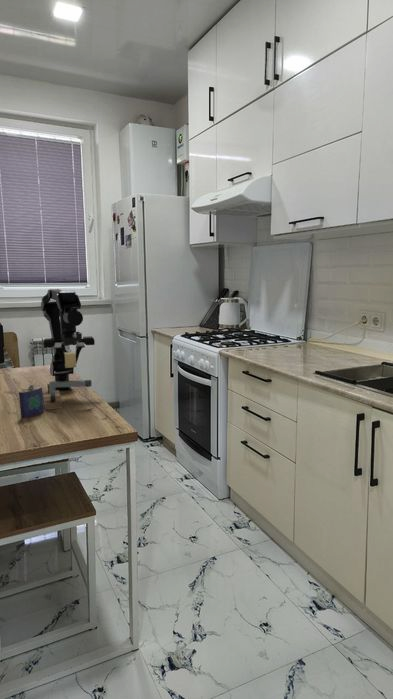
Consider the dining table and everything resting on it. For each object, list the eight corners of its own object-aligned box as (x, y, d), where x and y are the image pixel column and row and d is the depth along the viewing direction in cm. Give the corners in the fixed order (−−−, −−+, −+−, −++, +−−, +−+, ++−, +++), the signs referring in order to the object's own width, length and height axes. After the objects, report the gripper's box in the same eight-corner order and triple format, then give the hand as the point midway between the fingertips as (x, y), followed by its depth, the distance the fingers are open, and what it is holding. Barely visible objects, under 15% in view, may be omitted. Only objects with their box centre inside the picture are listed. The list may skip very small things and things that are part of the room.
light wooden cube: (64, 365, 179) (63, 352, 178) (75, 364, 180) (74, 351, 179) (65, 367, 173) (64, 355, 172) (76, 367, 174) (75, 354, 173)
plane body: (43, 396, 178) (42, 384, 177) (59, 395, 180) (58, 383, 179) (44, 409, 160) (43, 395, 159) (62, 407, 162) (61, 394, 161)
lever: (92, 398, 165) (91, 379, 164) (91, 400, 163) (91, 381, 162) (51, 400, 164) (50, 381, 162) (49, 402, 161) (48, 382, 160)
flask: (40, 410, 159) (38, 381, 157) (46, 412, 157) (44, 381, 156) (19, 418, 151) (16, 386, 149) (25, 419, 149) (23, 387, 148)
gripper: (42, 326, 163) (45, 369, 166) (95, 324, 169) (97, 365, 172) (42, 324, 174) (44, 364, 176) (92, 322, 180) (93, 360, 182)
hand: (70, 363), depth 176 cm, fingers closed on light wooden cube, 4 cm apart
